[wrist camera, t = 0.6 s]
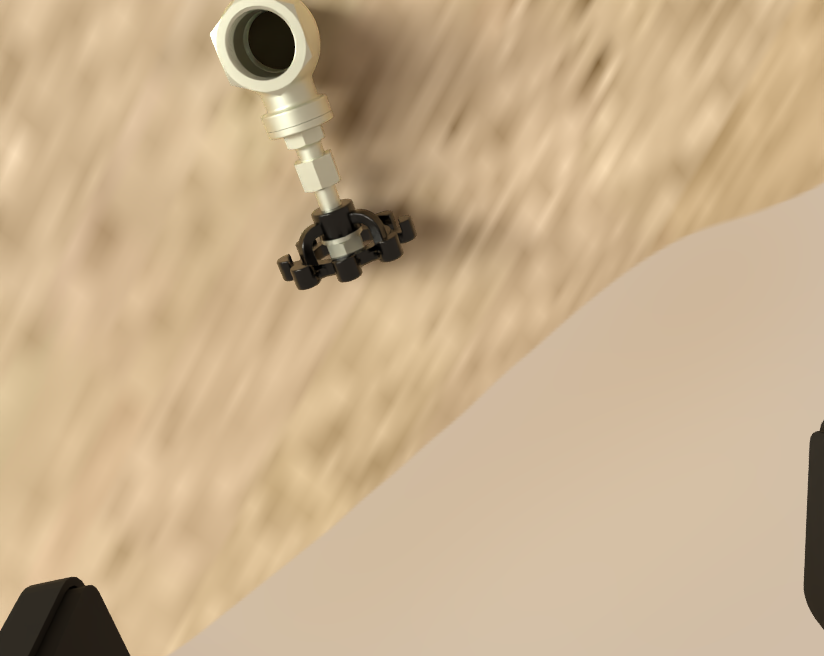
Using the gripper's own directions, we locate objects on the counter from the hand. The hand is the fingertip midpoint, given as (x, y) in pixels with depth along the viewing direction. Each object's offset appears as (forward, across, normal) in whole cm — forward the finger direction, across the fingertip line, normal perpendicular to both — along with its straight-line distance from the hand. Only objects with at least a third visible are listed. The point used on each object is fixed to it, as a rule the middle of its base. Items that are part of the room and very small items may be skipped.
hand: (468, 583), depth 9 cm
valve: (+29, +3, -2) cm, 29 cm away
